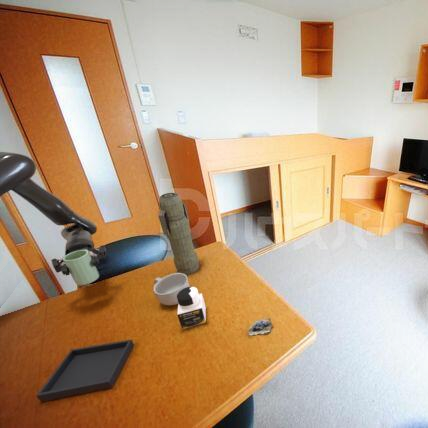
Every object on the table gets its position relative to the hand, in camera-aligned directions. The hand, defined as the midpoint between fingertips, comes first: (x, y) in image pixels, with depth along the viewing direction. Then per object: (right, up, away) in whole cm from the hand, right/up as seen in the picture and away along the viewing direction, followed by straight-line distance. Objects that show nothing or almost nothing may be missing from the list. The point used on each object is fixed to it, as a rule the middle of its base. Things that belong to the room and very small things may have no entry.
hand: (81, 268), depth 77 cm
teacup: (+23, -14, +13) cm, 29 cm away
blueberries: (+58, -20, +1) cm, 62 cm away
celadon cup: (-2, -5, +4) cm, 6 cm away
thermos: (+20, -7, +28) cm, 35 cm away
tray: (+15, -25, -12) cm, 32 cm away
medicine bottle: (+35, -18, +4) cm, 40 cm away
